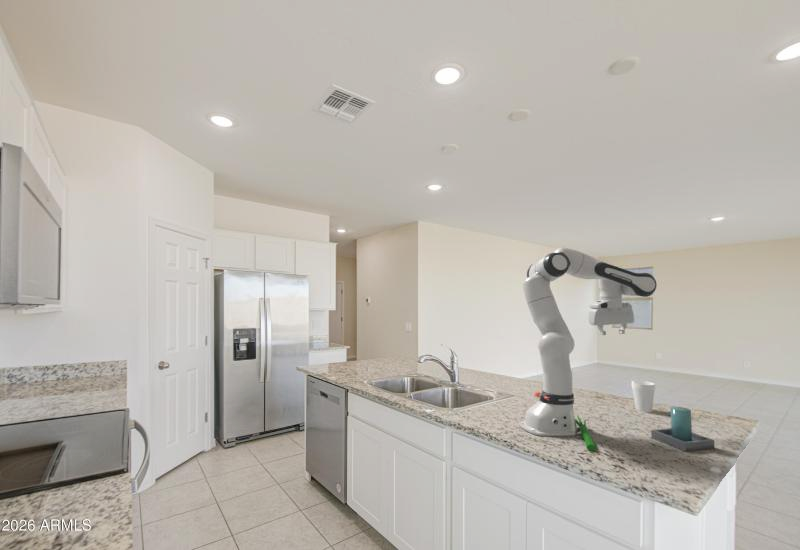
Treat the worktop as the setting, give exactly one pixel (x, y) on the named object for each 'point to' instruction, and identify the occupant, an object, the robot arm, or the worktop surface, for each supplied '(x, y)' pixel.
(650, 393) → the foam cup
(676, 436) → the teal cylinder
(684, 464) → the worktop surface
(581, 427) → the green onion
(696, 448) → the tray
